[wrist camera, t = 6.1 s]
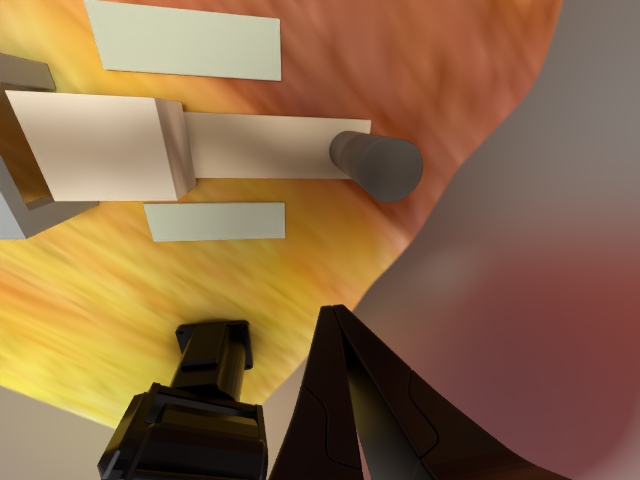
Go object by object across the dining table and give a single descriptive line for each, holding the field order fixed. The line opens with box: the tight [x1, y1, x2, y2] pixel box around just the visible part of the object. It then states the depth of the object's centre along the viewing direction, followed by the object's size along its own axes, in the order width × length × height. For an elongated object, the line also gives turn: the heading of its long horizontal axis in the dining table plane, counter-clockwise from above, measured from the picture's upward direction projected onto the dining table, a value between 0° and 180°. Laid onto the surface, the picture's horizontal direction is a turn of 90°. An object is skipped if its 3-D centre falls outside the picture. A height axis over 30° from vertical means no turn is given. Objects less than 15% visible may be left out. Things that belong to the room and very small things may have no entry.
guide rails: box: [84, 0, 285, 242], centre depth 17 cm, size 14×10×1 cm
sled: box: [5, 90, 423, 202], centre depth 13 cm, size 5×18×8 cm, turn 88°
